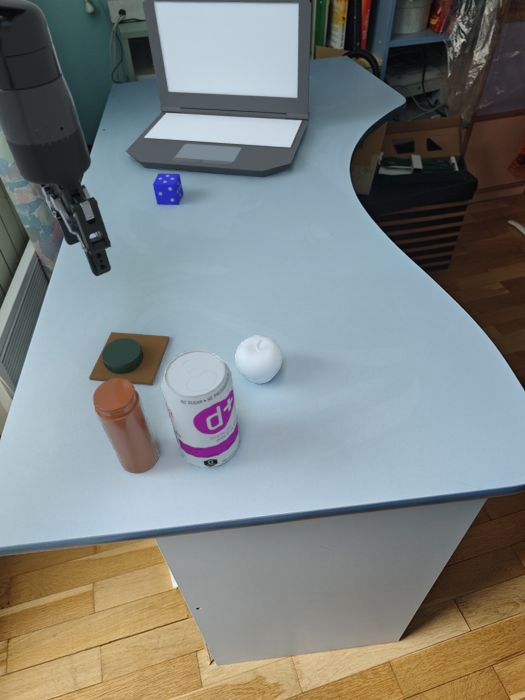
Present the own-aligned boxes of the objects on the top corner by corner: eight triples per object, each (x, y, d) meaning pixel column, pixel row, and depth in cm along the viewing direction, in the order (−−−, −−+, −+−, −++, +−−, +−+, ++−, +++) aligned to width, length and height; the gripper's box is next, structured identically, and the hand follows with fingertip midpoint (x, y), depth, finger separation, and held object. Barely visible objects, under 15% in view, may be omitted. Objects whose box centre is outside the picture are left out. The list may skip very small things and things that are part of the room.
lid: (147, 346, 78) (145, 338, 77) (137, 375, 74) (134, 367, 73) (112, 344, 79) (108, 336, 78) (99, 373, 75) (95, 364, 73)
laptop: (119, 169, 122) (78, 10, 98) (164, 119, 143) (139, -22, 119) (287, 182, 115) (287, 13, 90) (308, 127, 135) (313, -22, 111)
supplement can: (251, 448, 65) (244, 377, 54) (198, 481, 62) (179, 412, 51) (220, 409, 70) (207, 336, 59) (169, 438, 67) (146, 366, 56)
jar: (157, 471, 63) (133, 410, 54) (118, 475, 63) (86, 413, 53) (160, 438, 67) (138, 374, 57) (122, 441, 67) (94, 377, 57)
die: (183, 193, 113) (179, 173, 109) (178, 205, 109) (174, 184, 106) (162, 193, 113) (158, 173, 110) (157, 204, 110) (152, 184, 106)
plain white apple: (261, 399, 71) (258, 363, 65) (227, 375, 74) (222, 338, 69) (292, 372, 74) (293, 335, 68) (259, 350, 78) (256, 313, 72)
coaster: (152, 385, 74) (151, 382, 73) (89, 380, 75) (88, 377, 74) (169, 338, 80) (169, 336, 80) (112, 334, 82) (111, 331, 81)
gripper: (105, 137, 47) (140, 271, 59) (52, 97, 55) (93, 222, 67) (28, 160, 44) (82, 297, 56) (-16, 115, 52) (40, 242, 64)
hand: (88, 256), depth 61 cm, fingers open, 8 cm apart
